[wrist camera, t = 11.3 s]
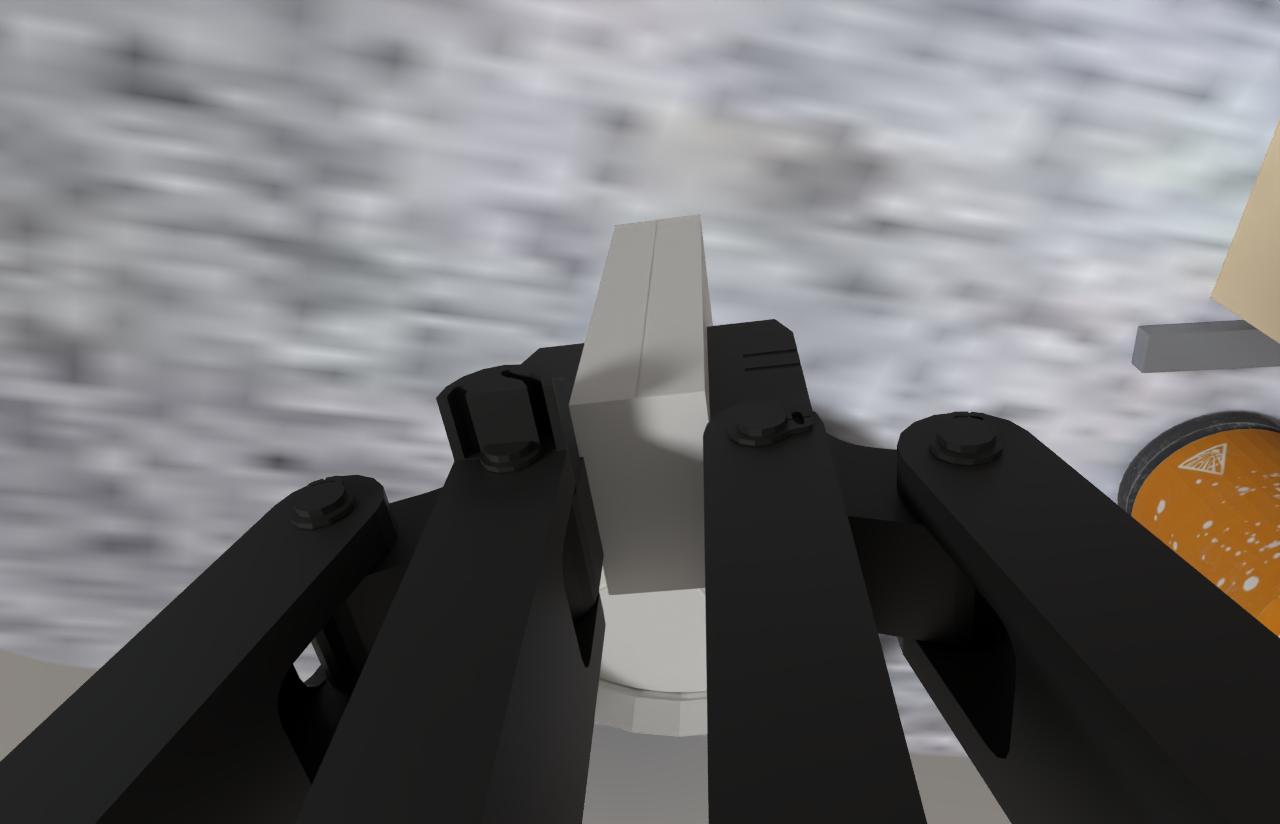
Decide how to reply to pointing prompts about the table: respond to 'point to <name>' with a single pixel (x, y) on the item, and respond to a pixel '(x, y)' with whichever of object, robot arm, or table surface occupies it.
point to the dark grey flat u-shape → (1203, 347)
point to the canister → (1216, 503)
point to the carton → (1256, 253)
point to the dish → (654, 662)
